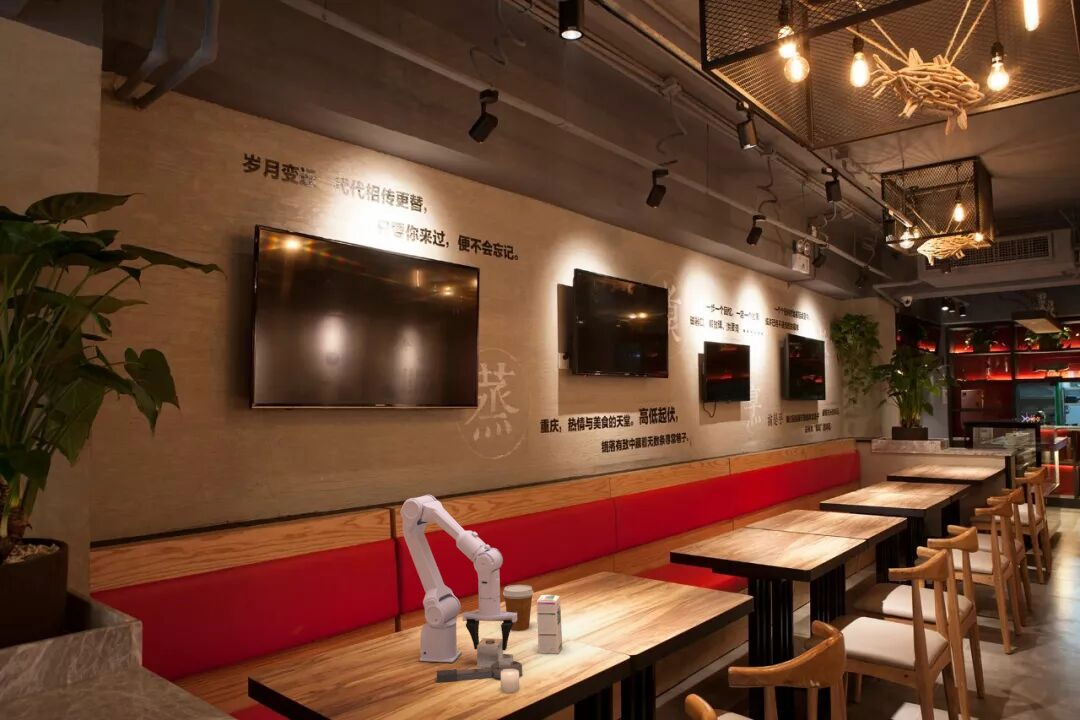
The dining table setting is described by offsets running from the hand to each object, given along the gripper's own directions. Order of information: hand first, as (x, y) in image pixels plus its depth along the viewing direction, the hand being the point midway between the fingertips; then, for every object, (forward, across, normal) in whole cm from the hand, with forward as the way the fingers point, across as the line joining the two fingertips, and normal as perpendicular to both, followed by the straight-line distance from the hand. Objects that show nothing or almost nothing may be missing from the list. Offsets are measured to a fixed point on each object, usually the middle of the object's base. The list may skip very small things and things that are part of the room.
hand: (490, 648), depth 185 cm
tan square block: (+4, 0, 0) cm, 4 cm away
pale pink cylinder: (+4, -9, +16) cm, 19 cm away
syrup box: (+4, -14, -12) cm, 19 cm away
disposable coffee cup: (+4, -1, -31) cm, 31 cm away
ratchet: (+4, +1, +9) cm, 10 cm away
